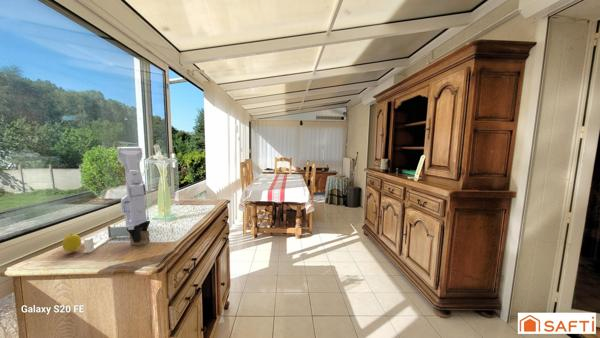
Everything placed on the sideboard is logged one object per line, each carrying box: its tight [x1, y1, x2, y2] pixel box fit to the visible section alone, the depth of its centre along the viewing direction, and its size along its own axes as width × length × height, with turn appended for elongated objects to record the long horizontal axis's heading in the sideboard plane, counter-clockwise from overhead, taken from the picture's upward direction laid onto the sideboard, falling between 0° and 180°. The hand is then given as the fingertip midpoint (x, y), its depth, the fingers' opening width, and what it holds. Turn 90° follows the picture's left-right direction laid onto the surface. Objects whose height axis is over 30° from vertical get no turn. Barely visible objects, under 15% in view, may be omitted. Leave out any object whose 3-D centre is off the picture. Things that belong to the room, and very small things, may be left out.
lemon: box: [61, 233, 82, 253], centre depth 96 cm, size 6×6×8 cm
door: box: [107, 225, 130, 238], centre depth 112 cm, size 12×2×5 cm, turn 99°
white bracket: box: [83, 224, 116, 254], centre depth 105 cm, size 18×2×5 cm, turn 11°
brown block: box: [129, 230, 150, 247], centre depth 105 cm, size 4×6×5 cm, turn 101°
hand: (140, 239), depth 105 cm, fingers open, 5 cm apart
